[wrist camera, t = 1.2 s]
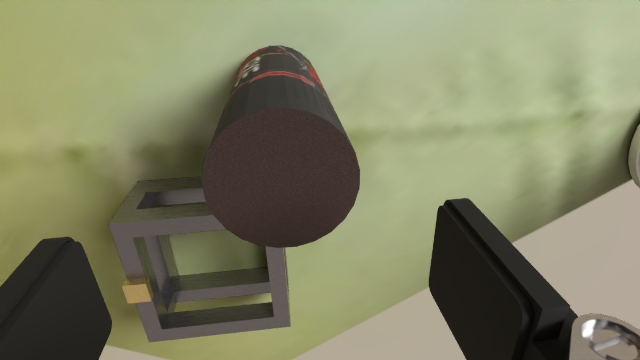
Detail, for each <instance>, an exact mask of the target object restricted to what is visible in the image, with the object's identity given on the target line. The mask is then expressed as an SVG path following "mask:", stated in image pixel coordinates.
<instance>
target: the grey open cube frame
mask: <svg viewBox="0 0 640 360" xmlns="http://www.w3.org/2000/svg"><path fill="white" fill-rule="evenodd" d="M201 179H202V176H200V177H187V178H174V179H161V180H149V181H138V182H137V183H136V185H135V186H134V187H133V189H132V190H131V192H130V193H129V195H128V196H127V198H126V199H125V201H124V202H123V204H122V205H121V206H120V208H119V209H118V211H117V212H116V214H115V215H114V217H113V218H112V220H111V221H110V223H109V224H108V225H109V227H110V230H111V233H112V236H113V239H114V242H115V245H116V248H117V251H118V253H119V256H120V259H121V262H122V265H123V268H124V271H125V274H126V277H127V280H125V281H124V283H123V285H122V289H123V291H124V294H125V297H126V300H127V303H128V304H130V303H136V306H137V308H138V311H139V314H140V317H141V320H142V323H143V326H144V329H145V332H146V334H147V337H148V340H149V342H156V341H165V340H174V339H183V338H192V337H200V336H209V335H218V334H227V333H236V332H245V331H254V330H263V329H272V328H281V327H290V326H291V324H290V305H289V286H288V271H287V260H286V250H285V247H284V248H274V247H267V246H265V247H266V255H267V263H268V267H265V268H255V269H245V270H235V271H225V272H214V273H204V274H194V275H184V276H179V275H178V271H177V267H176V263H175V259H174V256H173V252H172V248H171V244H170V240H169V237H168V235H169V234H180V233H191V232H202V231H214V230H225V229H226V228H225V227H224V226H223V225H222V224H221V223H220V222H219V221H218V220H217V219H216V218H215V216H214V215H213V214H212V212H211V210H210V208H209V206H208V204H195V205H183V206H171V207H161V205H173V204H185V203H197V202H206V200H205V197H204V192H203V187H202V181H201ZM261 293H271V296H272V302H269V303H260V304H250V305H241V306H232V307H222V308H213V309H203V310H194V311H185V312H175V313H174V310H175V306H176V303H177V302H185V301H194V300H204V299H213V298H223V297H233V296H242V295H252V294H261Z"/></svg>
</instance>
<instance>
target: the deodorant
mask: <svg viewBox="0 0 640 360" xmlns="http://www.w3.org/2000/svg"><path fill="white" fill-rule="evenodd" d="M201 181H202V187H203V192H204V197H205V200H206V202H207V204H208V206H209V208H210V210H211V212H212V214H213V215H214V216H215V218H216V219H217V220H218V221H219V222H220V223H221V224H222V225H223V226H224V227H225V228H226V229H227V230H228V231H230V232H231V233H233V234H235V235H236V236H238V237H239V238H241V239H243V240H245V241H248V242H251V243H254V244H256V245H259V246H267V247H274V248H284V247H297V246H300V245H304V244H307V243H310V242H314V241H316V240H318V239H319V238H321V237H323V236H325V235H327V234H328V233H330V232H331V231H333V230H334V229H335V228H336V227H337V226H338V225H339V224H340V223H341V222H342V221H343V220H344V219H345V218H346V216H347V215H348V213H349V212H350V210H351V209H352V207H353V206H354V203H355V200H356V197H357V194H358V191H359V185H360V169H359V165H358V161H357V157H356V153H355V151H354V149H353V147H352V145H351V143H350V141H349V138H348V136H347V134H346V132H345V130H344V128H343V126H342V124H341V122H340V120H339V118H338V116H337V114H336V112H335V110H334V108H333V106H332V104H331V102H330V100H329V98H328V96H327V94H326V92H325V90H324V88H323V86H322V84H321V82H320V80H319V77H318V75H317V73H316V71H315V70H314V68H313V66H312V65H311V63H310V61H309V60H308V59H307V58H305V57H304V56H303V55H302V54H301V53H299V52H298V51H296V50H294V49H292V48H288V47H284V46H268V47H265V48H262V49H259V50H257V51H256V52H254V53H253V54H251V55H250V56H249V57H248V58H247V59H246V60H245V61H244V63H243V64H242V66H241V68H240V70H239V73H238V75H237V77H236V80H235V83H234V85H233V88H232V90H231V93H230V95H229V98H228V100H227V103H226V105H225V108H224V111H223V113H222V116H221V118H220V121H219V123H218V126H217V128H216V131H215V134H214V136H213V139H212V141H211V144H210V146H209V149H208V151H207V154H206V157H205V159H204V162H203V171H202V179H201Z"/></svg>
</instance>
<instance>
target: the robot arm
mask: <svg viewBox="0 0 640 360" xmlns="http://www.w3.org/2000/svg"><path fill="white" fill-rule="evenodd" d="M629 170H630V174H631V177H632V178H633V180H634V182H635V184H636V185H637V186H639V187H640V124H639V126H638V127H637V129H636V132H635V134H634V137H633V139H632V142H631V146H630V151H629ZM429 288H430V292H431V294H432V296H433V298H434V300H435V302H436V304H437V305H438V307H439V309H440V311H441V313H442V315H443V317H444V318H445V320H446V322H447V324H448V326H449V328H450V330H451V331H452V333H453V335H454V337H455V339H456V341H457V343H458V344H459V347H460V348H461V350H462V352H463V354H464V356H465V358H466V359H467V360H640V330H639V329H638V328H636V327H634V326H632V325H631V324H629V323H627V322H625V321H623V320H620V319H618V318H615V317H612V316H608V315H604V314H592V313H590V314H585V315H581V316H579V317H578V316H577V315H576V314H575V313H574V312H573V311H572V309H571V308H570V305H569V304H568V303H567V302H566V301H565V300H564V299H563V298H562V297H561V296H560V294H559V293H557V291H556V290H555V289H554V288H553V287H552V286H551V285H550V284H549V283H548V282H547V281H546V280H545V279H544V278H543V277H542V275H541V274H540V273H539V272H538V271H537V270H536V269H535V268H534V267H533V266H532V265H531V264H530V263H529V262H528V261H527V260H526V259H525V257H524V256H523V255H522V254H521V253H520V252H519V251H518V250H517V249H516V248H515V247H514V246H513V245H512V244H511V243H510V242H509V241H508V240H507V238H506V237H505V236H504V235H503V234H502V233H501V232H500V231H499V230H498V229H497V228H496V227H495V226H494V225H493V224H492V223H491V222H490V221H489V219H488V218H487V217H486V216H485V215H484V214H483V213H482V212H481V211H480V210H479V209H478V208H477V207H476V206H475V205H474V204H473V203H472V202H471V200H469V199H468V198H462V199H452V200H446V201H445V203H444V205H443V206H440V207H439V208H438V212H437V220H436V228H435V235H434V243H433V251H432V259H431V267H430V274H429ZM111 328H112V320H111V317H110V314H109V312H108V309H107V307H106V304H105V302H104V299H103V297H102V294H101V291H100V289H99V286H98V284H97V281H96V279H95V276H94V274H93V271H92V269H91V266H90V264H89V261H88V259H87V256H86V254H85V251H84V249H83V246H82V245H81V243H80V242H75V241H74V240H73V239H72V238H71V237H61V238H51V239H44V240H42V241H40V242H39V243H38V244H37V246H36V247H35V248H34V249H33V250H32V251H31V252H30V254H29V255H28V256H27V257H26V258H25V259H24V260H23V262H22V263H21V264H20V265H19V266H18V267H17V268H16V270H15V271H14V272H13V273H12V274H11V275H10V276H9V278H8V279H7V280H6V281H5V282H4V283H3V284H2V286H1V287H0V360H99V357H100V355H101V353H102V350H103V348H104V346H105V344H106V342H107V339H108V337H109V335H110V332H111Z"/></svg>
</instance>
